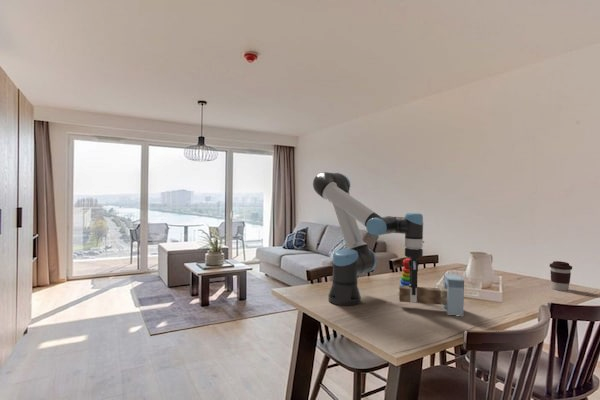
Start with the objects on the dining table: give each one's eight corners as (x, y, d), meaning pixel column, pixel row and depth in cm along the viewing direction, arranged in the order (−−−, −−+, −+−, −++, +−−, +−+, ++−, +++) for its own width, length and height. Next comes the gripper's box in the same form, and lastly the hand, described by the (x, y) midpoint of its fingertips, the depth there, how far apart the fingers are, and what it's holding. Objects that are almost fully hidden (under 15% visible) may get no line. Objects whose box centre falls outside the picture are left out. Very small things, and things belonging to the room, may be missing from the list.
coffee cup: (576, 292, 183) (577, 264, 183) (557, 291, 183) (558, 263, 183) (562, 287, 193) (563, 260, 193) (544, 286, 193) (545, 260, 193)
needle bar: (399, 301, 152) (399, 288, 152) (399, 299, 156) (399, 285, 156) (448, 305, 147) (448, 291, 147) (446, 302, 151) (446, 288, 151)
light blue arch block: (447, 315, 143) (448, 279, 143) (442, 306, 155) (443, 273, 155) (463, 316, 142) (464, 280, 142) (457, 307, 154) (458, 274, 153)
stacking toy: (396, 296, 170) (397, 258, 169) (400, 292, 177) (401, 256, 176) (413, 298, 166) (414, 260, 166) (416, 294, 173) (417, 257, 173)
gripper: (424, 251, 143) (423, 307, 143) (420, 245, 159) (420, 295, 160) (405, 250, 145) (405, 305, 145) (403, 244, 161) (403, 294, 161)
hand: (412, 300), depth 152 cm, fingers closed on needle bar, 4 cm apart
